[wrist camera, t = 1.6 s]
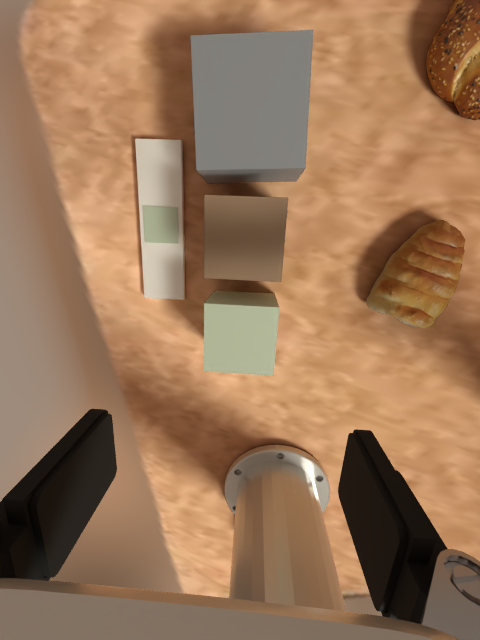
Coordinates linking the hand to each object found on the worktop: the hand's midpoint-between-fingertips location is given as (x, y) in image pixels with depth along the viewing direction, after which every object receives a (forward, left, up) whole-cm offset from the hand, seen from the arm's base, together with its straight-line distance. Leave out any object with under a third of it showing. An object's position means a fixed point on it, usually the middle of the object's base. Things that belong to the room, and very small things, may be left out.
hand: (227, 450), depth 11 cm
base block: (+17, 0, -19) cm, 25 cm away
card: (+9, +8, -18) cm, 22 cm away
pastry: (+5, -15, -19) cm, 25 cm away
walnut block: (+8, 0, -18) cm, 20 cm away
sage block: (0, 0, -18) cm, 19 cm away
